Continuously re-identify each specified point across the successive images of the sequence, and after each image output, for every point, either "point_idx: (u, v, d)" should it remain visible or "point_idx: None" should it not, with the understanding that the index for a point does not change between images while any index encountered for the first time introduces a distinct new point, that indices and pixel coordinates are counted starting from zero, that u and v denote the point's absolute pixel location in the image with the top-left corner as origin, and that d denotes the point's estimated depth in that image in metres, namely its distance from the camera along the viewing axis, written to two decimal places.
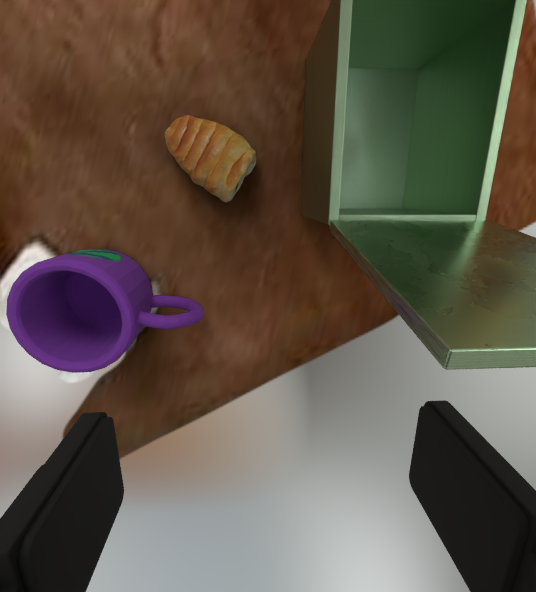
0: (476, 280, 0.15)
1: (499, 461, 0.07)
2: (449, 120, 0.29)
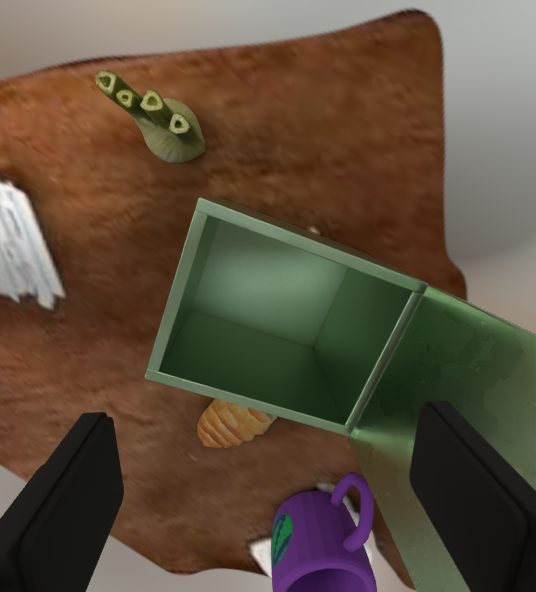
0: None
1: (499, 461, 0.07)
2: None
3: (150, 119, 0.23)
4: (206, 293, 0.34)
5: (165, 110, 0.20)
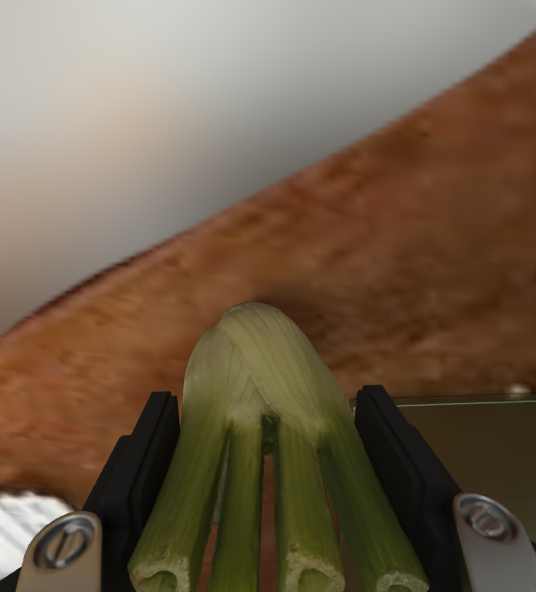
0: None
1: (410, 435, 0.08)
2: None
3: None
4: None
5: (339, 552, 0.07)
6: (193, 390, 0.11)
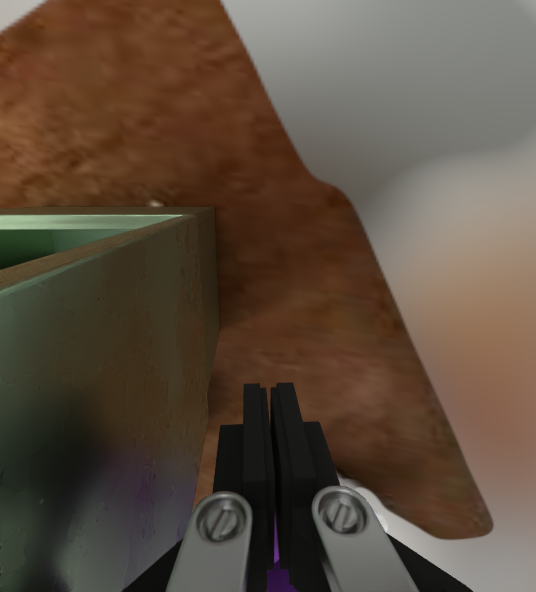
0: None
1: (297, 431, 0.08)
2: None
3: None
4: None
5: None
6: None
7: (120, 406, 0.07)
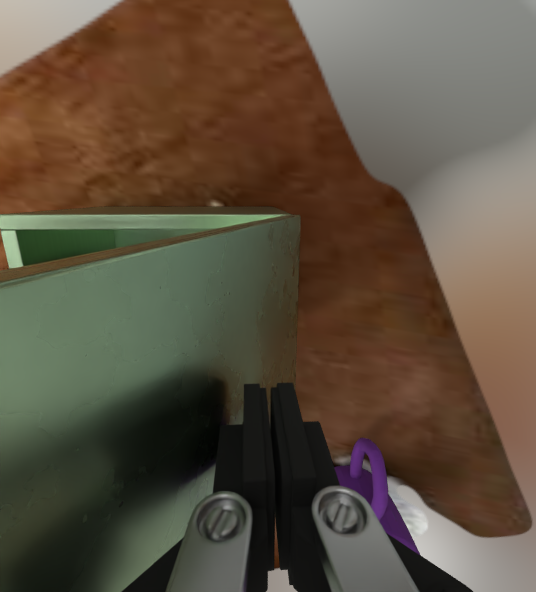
0: None
1: (298, 431, 0.08)
2: None
3: None
4: None
5: None
6: None
7: (176, 386, 0.08)
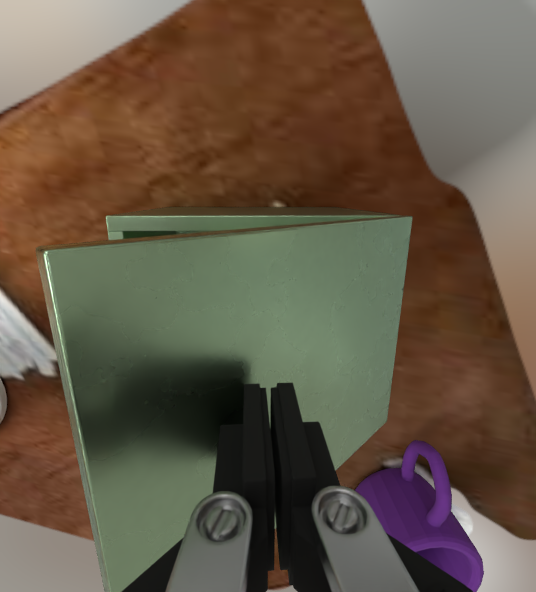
0: None
1: (297, 431, 0.08)
2: None
3: None
4: None
5: None
6: None
7: (230, 340, 0.10)
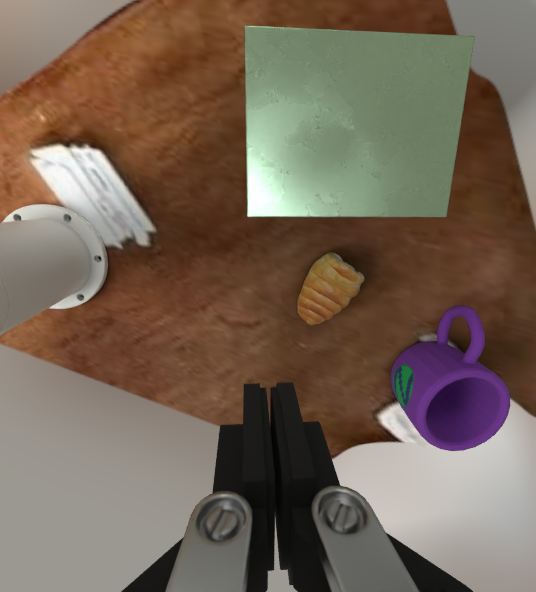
0: None
1: (298, 431, 0.08)
2: None
3: None
4: None
5: None
6: None
7: (305, 81, 0.23)
